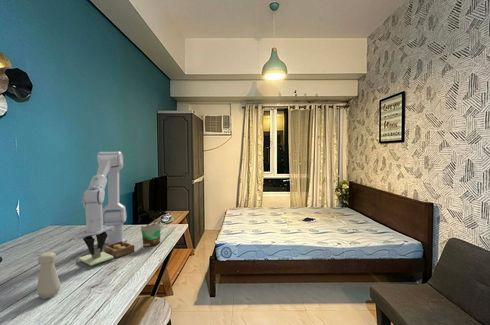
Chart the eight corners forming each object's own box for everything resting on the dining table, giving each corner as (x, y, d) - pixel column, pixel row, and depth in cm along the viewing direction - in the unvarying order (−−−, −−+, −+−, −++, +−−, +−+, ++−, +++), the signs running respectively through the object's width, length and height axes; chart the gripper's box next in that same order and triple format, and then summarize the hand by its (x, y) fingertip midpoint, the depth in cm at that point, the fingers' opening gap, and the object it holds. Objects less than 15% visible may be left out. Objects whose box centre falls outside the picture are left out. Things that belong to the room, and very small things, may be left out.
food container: (153, 249, 115) (153, 227, 115) (141, 248, 116) (140, 226, 116) (167, 239, 127) (166, 219, 127) (156, 239, 129) (155, 219, 128)
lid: (78, 259, 103) (78, 249, 103) (101, 252, 110) (100, 242, 110) (90, 265, 97) (90, 255, 97) (113, 257, 104) (113, 247, 104)
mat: (76, 262, 103) (76, 261, 103) (102, 253, 111) (102, 253, 111) (89, 269, 96) (89, 269, 96) (116, 260, 104) (116, 259, 104)
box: (104, 253, 112) (104, 246, 112) (122, 247, 118) (122, 240, 118) (116, 258, 106) (116, 251, 106) (134, 252, 112) (134, 245, 112)
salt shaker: (45, 290, 82) (43, 250, 81) (64, 289, 82) (62, 249, 82) (32, 301, 76) (29, 258, 75) (52, 300, 76) (50, 257, 76)
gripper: (78, 225, 94) (80, 261, 95) (117, 216, 106) (118, 249, 107) (70, 222, 99) (72, 257, 99) (109, 214, 110) (110, 245, 111)
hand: (95, 252), depth 103 cm, fingers closed on lid, 2 cm apart
